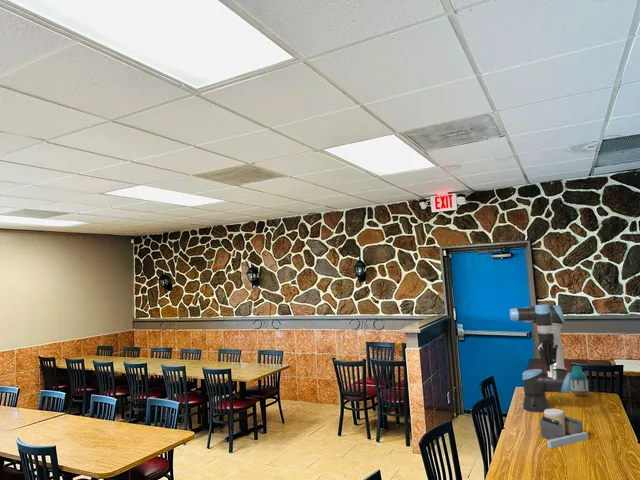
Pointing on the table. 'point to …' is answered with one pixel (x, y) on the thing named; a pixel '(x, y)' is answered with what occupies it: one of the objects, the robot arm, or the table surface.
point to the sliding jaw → (551, 428)
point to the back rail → (567, 440)
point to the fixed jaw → (572, 426)
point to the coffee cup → (556, 416)
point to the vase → (579, 382)
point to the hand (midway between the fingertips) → (551, 377)
